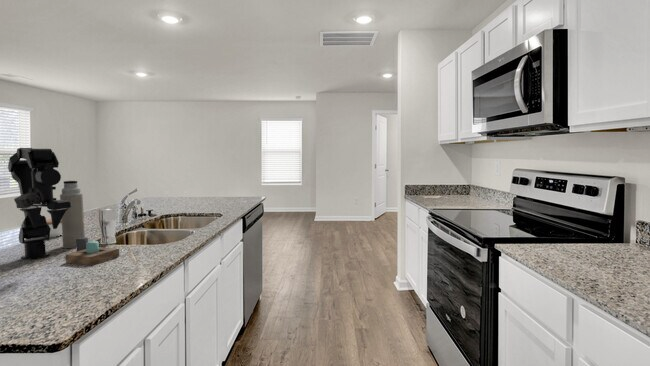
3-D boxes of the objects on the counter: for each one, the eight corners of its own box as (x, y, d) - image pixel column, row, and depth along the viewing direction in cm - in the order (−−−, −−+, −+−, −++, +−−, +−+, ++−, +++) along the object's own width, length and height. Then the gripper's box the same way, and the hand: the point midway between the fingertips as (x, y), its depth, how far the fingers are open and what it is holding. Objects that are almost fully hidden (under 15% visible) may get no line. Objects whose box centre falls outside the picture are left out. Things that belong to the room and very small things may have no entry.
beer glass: (103, 245, 163) (101, 211, 162) (96, 243, 167) (94, 209, 166) (120, 242, 169) (118, 209, 168) (112, 240, 173) (111, 207, 172)
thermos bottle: (79, 242, 169) (76, 180, 167) (88, 245, 164) (85, 180, 162) (59, 246, 162) (55, 181, 160) (68, 248, 158) (64, 181, 156)
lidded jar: (34, 238, 179) (33, 218, 179) (54, 233, 190) (53, 215, 189) (54, 238, 177) (53, 219, 177) (73, 234, 188) (71, 215, 187)
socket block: (66, 262, 137) (65, 254, 137) (94, 254, 149) (94, 246, 149) (92, 265, 134) (91, 256, 134) (119, 256, 145) (119, 248, 145)
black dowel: (74, 254, 149) (73, 239, 149) (83, 251, 153) (82, 237, 152) (82, 255, 148) (81, 239, 148) (91, 252, 152) (90, 237, 151)
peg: (84, 260, 140) (83, 243, 139) (93, 257, 144) (92, 240, 143) (92, 261, 139) (91, 243, 138) (102, 258, 143) (101, 241, 142)
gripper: (-2, 185, 129) (1, 231, 130) (39, 186, 123) (42, 234, 124) (31, 183, 139) (34, 225, 140) (70, 184, 134) (73, 227, 135)
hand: (45, 228), depth 135 cm, fingers open, 9 cm apart
